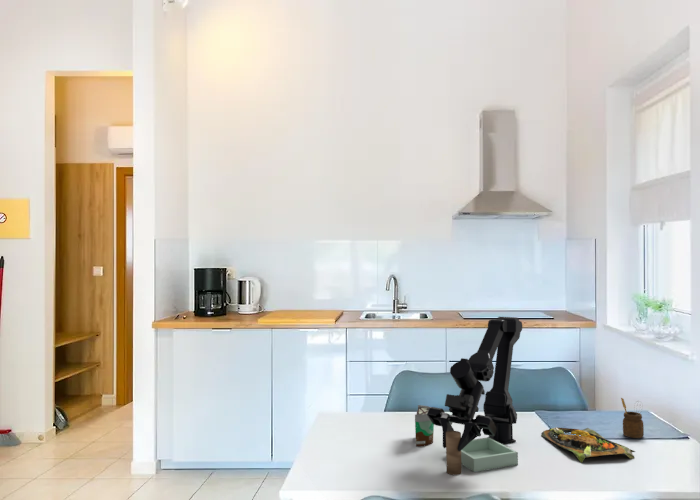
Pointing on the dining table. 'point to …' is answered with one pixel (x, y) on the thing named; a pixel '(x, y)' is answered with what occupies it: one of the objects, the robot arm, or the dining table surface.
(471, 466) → the box
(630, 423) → the utensil holder
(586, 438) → the prepared meal
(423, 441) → the food container
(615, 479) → the dining table surface
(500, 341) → the robot arm
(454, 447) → the walnut handle
